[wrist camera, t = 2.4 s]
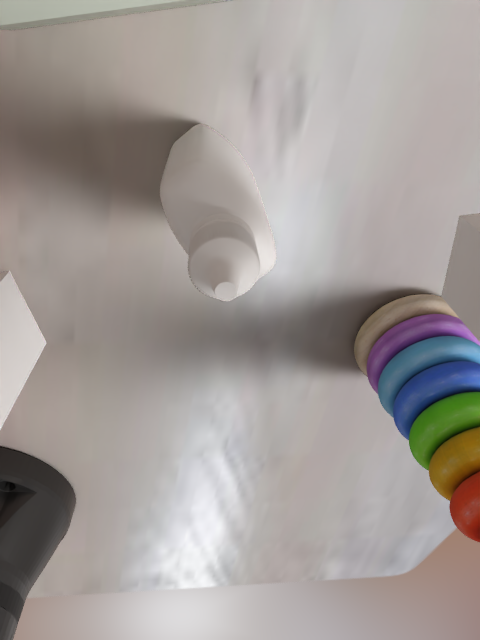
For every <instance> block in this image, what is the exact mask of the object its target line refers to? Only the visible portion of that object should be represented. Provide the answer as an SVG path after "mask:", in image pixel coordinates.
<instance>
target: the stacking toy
mask: <svg viewBox="0 0 480 640" xmlns="http://www.w3.org/2000/svg"><path fill="white" fill-rule="evenodd" d="M354 354H355V359H356V362H357V364H358V366H359V368H360V369H361V371H362V372H363V373H364V374H365V375H366V376H367V377H368V380H369V382H370V384H371V386H372V388H373V389H374V390H375V392H376V393H377V394H378V395H379V399H380V402H381V404H382V406H383V407H384V409H385V410H386V411H387V413H389V414H390V415H391V416H392V417H393V418H394V421H395V424H396V426H397V428H398V430H399V432H400V433H401V434H402V435H403V436H404V437H405V438H406V439H407V440H409V446H410V449H411V452H412V454H413V456H414V458H415V459H416V460H417V462H418V463H419V464H420V465H421V466H422V467H424V468H425V469H427V470H429V476H430V480H431V482H432V484H433V486H434V488H435V489H436V490H437V491H438V492H439V493H440V494H441V495H442V496H443V497H445V498H446V499H448V500H450V513H451V516H452V519H453V521H454V523H455V525H456V526H457V528H458V529H459V530H460V531H461V532H462V533H463V534H464V535H466V536H467V537H469V538H471V539H473V540H475V541H478V542H480V342H479V341H478V340H477V338H476V337H475V336H474V335H473V334H472V332H471V331H470V330H469V329H468V328H467V326H466V325H465V324H464V323H463V322H462V320H461V319H460V318H459V317H458V316H457V315H456V313H455V312H454V311H453V310H452V309H451V307H450V306H449V305H448V304H447V303H446V301H445V300H444V299H443V298H442V297H440V296H436V295H428V294H419V295H411V296H406V297H403V298H399V299H396V300H394V301H392V302H390V303H388V304H386V305H384V306H383V307H381V308H380V309H378V310H377V311H376V312H374V313H373V314H372V315H371V316H370V317H369V318H368V319H367V320H366V321H365V322H364V324H363V325H362V327H361V328H360V330H359V332H358V334H357V337H356V340H355V345H354Z"/></svg>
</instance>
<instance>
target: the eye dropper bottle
mask: <svg viewBox="0 0 480 640" xmlns="http://www.w3.org/2000/svg"><path fill="white" fill-rule="evenodd" d="M160 199H161V203H162V207H163V210H164V213H165V215H166V218H167V221H168V223H169V225H170V227H171V229H172V231H173V233H174V235H175V237H176V238H177V240H178V242H179V243H180V245H181V246H182V247H183V249H184V250H185V251H186V253H187V254H188V255H189V259H188V271H189V275H190V278H191V281H192V282H193V284H194V285H195V287H197V289H198V290H199V291H201V292H202V293H203V294H205V295H208V296H209V297H212V298H215V299H219V300H221V301H231V300H233V299H234V298H236V297H238V296H240V295H243V294H244V293H246V292H247V291H249V289H251V287H252V286H254V284H255V283H256V281H257V280H258V279H260V278H261V277H263V276H264V275H265V274H267V273H268V272H269V271H271V269H272V268H273V267H274V266H275V263H276V259H277V257H276V247H275V242H274V238H273V234H272V231H271V227H270V224H269V221H268V217H267V214H266V211H265V208H264V205H263V202H262V199H261V195H260V192H259V189H258V186H257V183H256V181H255V178H254V176H253V174H252V172H251V170H250V168H249V166H248V164H247V163H246V161H245V159H244V158H243V157H242V155H241V154H240V153H239V151H238V150H237V149H236V148H235V147H234V146H233V145H232V144H231V143H230V142H229V141H228V140H227V139H226V138H225V137H224V136H222V135H221V134H220V133H218V132H217V131H216V130H214V129H212V128H211V127H209V126H207V125H204V124H198V125H195V126H193V127H192V128H191V129H190V130H188V131H187V132H186V133H185V134H184V135H182V136H181V137H180V138H179V139H178V140H177V141H176V142H175V143H174V144H173V146H172V147H171V150H170V153H169V157H168V160H167V163H166V166H165V170H164V173H163V176H162V180H161V185H160Z"/></svg>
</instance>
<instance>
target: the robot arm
mask: <svg viewBox="0 0 480 640" xmlns="http://www.w3.org/2000/svg"><path fill="white" fill-rule="evenodd" d="M441 297H442V298H443V299H444V300H445V301H446V303H447V304H448V305H449V306H450V307H451V309H452V310H453V311H454V312H455V313H456V315H457V316H458V317H459V318H460V319H461V320H462V322H463V323H464V324H465V325H466V326H467V328H468V329H469V330H470V331H471V332H472V334H473V335H474V336H475V337H476V338H477V340H478V341H479V342H480V213H479V214H471V215H463V216H459V220H458V225H457V229H456V234H455V238H454V242H453V247H452V251H451V256H450V260H449V264H448V269H447V273H446V278H445V282H444V286H443V291H442V295H441ZM45 345H46V341H45V339H44V337H43V335H42V333H41V331H40V329H39V327H38V325H37V323H36V321H35V319H34V317H33V315H32V313H31V311H30V310H29V308H28V306H27V304H26V302H25V300H24V298H23V296H22V294H21V292H20V290H19V288H18V286H17V284H16V282H15V280H14V278H13V276H12V275H11V273H10V271H5V272H0V429H1V428H2V426H3V424H4V422H5V420H6V418H7V416H8V414H9V413H10V411H11V409H12V407H13V405H14V403H15V401H16V399H17V398H18V396H19V394H20V392H21V390H22V388H23V386H24V384H25V382H26V381H27V379H28V377H29V375H30V373H31V371H32V369H33V367H34V366H35V364H36V362H37V360H38V358H39V356H40V354H41V352H42V351H43V349H44V347H45ZM75 504H76V497H75V493H74V490H73V488H72V486H71V485H70V483H69V482H68V481H67V480H66V479H65V478H64V477H63V476H62V475H61V474H60V473H59V472H58V471H56V470H55V469H54V468H52V467H51V466H49V465H47V464H46V463H44V462H42V461H40V460H38V459H36V458H33V457H31V456H28V455H26V454H23V453H20V452H17V451H13V450H9V449H5V448H1V447H0V640H13V638H14V634H15V631H16V628H17V624H18V621H19V618H20V615H21V612H22V609H23V606H24V603H25V600H26V597H27V595H28V593H29V591H30V590H31V588H32V586H33V585H34V583H35V582H36V580H37V578H38V577H39V575H40V574H41V572H42V571H43V569H44V568H45V566H46V564H47V563H48V561H49V560H50V558H51V556H52V555H53V553H54V552H55V550H56V548H57V546H58V545H59V543H60V541H61V540H62V539H63V538H64V536H65V534H66V533H67V531H68V528H69V526H70V522H71V519H72V515H73V512H74V508H75Z"/></svg>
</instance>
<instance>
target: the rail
mask: <svg viewBox="0 0 480 640" xmlns="http://www.w3.org/2000/svg"><path fill="white" fill-rule="evenodd" d="M224 1H231V0H0V30H17V29H25V28H32V27H40V26H47V25H54V24H62V23H69V22H76V21H84V20H91V19H98V18H106V17H113V16H121V15H128V14H135V13H143V12H150V11H157V10H165V9H172V8H179V7H187V6H194V5H202V4H209V3H216V2H224Z"/></svg>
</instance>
